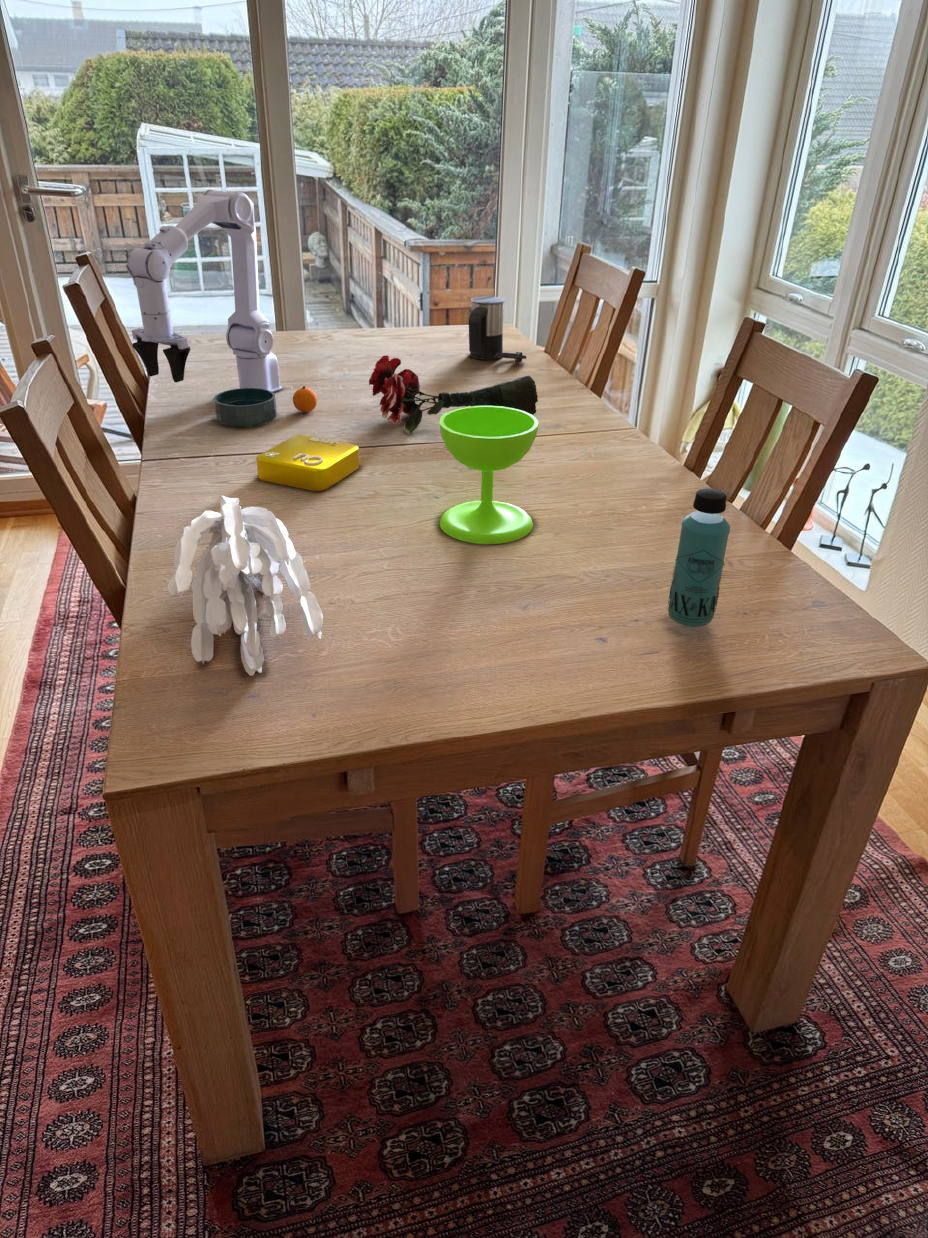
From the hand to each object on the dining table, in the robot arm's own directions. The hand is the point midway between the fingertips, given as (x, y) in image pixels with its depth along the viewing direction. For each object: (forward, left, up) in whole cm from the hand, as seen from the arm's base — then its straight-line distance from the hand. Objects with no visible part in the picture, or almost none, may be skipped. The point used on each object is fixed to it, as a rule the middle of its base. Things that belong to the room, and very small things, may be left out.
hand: (166, 378), depth 193 cm
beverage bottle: (+19, +124, -10) cm, 126 cm away
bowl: (-11, +11, -10) cm, 19 cm away
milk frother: (-85, +32, -10) cm, 91 cm away
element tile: (+5, +43, -10) cm, 44 cm away
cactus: (+51, +71, -10) cm, 88 cm away
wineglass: (+6, +83, -10) cm, 84 cm away
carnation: (-36, +49, -10) cm, 61 cm away
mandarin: (-22, +18, -7) cm, 30 cm away
